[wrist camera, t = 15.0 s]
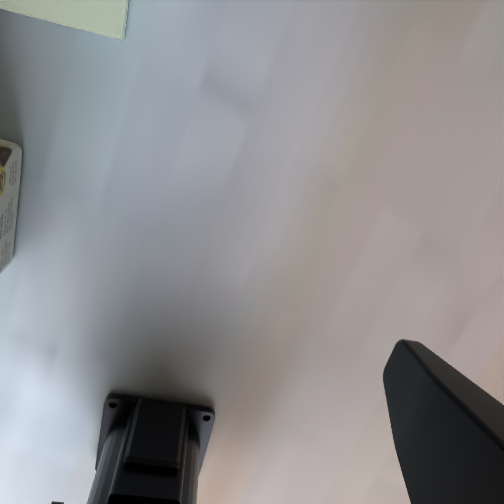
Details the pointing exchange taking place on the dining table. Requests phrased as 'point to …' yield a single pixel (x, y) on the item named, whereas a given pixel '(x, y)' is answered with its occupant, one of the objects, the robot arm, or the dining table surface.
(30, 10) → the collar holder
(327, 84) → the dining table surface
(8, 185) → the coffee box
